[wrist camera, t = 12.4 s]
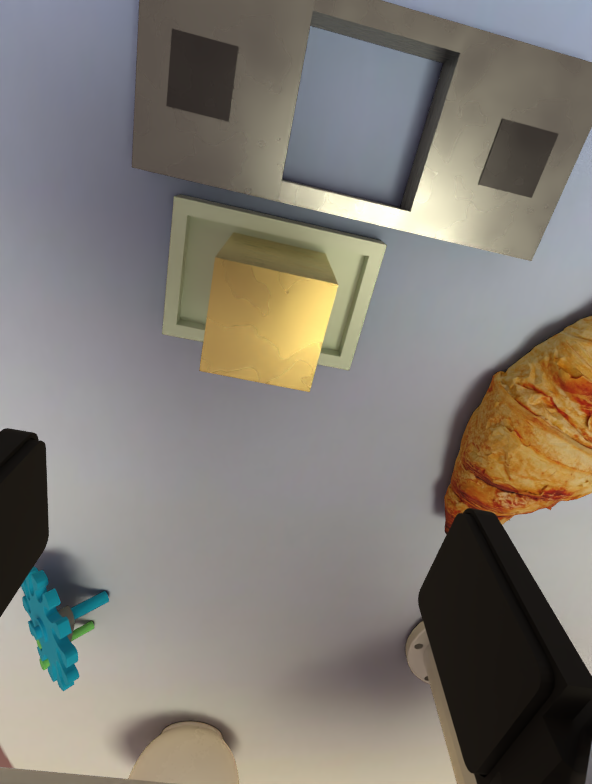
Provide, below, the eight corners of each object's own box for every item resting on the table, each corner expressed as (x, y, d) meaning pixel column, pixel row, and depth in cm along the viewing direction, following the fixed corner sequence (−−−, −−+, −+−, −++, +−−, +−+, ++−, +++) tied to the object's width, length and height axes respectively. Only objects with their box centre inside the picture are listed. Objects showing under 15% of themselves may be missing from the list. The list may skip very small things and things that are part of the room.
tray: (381, 240, 27) (386, 245, 25) (346, 360, 30) (349, 370, 29) (180, 194, 25) (174, 196, 24) (168, 325, 29) (162, 334, 28)
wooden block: (325, 253, 27) (338, 284, 20) (304, 338, 29) (309, 392, 22) (233, 232, 26) (215, 257, 19) (219, 321, 28) (199, 370, 22)
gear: (13, 550, 36) (64, 662, 31) (88, 521, 40) (142, 616, 35) (11, 617, 42) (54, 719, 37) (76, 586, 46) (122, 674, 41)
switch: (585, 78, 23) (618, 69, 21) (511, 252, 27) (532, 261, 25) (157, -46, 21) (141, -72, 18) (145, 166, 25) (131, 167, 22)
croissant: (569, 259, 31) (591, 252, 24) (718, 333, 29) (792, 349, 22) (408, 483, 39) (388, 527, 32) (513, 554, 37) (517, 619, 30)
